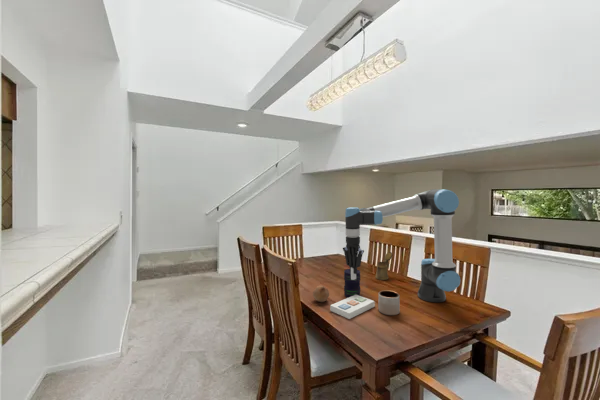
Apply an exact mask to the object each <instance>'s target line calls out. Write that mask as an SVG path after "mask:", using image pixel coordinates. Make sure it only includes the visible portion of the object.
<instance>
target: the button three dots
mask: <svg viewBox="0 0 600 400" xmlns="http://www.w3.org/2000/svg"><path fill="white" fill-rule="evenodd" d="M347 304H349V305H352V306H355V305H357V304H359V302H356V301H353V300H351V301H349V302H347Z"/></svg>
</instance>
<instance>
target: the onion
mask: <svg viewBox="0 0 600 400" xmlns="http://www.w3.org/2000/svg"><path fill="white" fill-rule="evenodd" d="M312 296H313V298H314V300H315V302H318V303H325V302H326V301H327V300H328V298H329V296H330V291H329V289H328V288H327V286H325V285H317V286H315V288H314V289H313V292H312Z"/></svg>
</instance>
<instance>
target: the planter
mask: <svg viewBox="0 0 600 400" xmlns="http://www.w3.org/2000/svg"><path fill="white" fill-rule="evenodd" d="M400 297H401V296H400V293H398V292H397V291H394V290H390V289H389V290H388V289H386V290H385V289H384V290H380V291H379V292H378V297H377V298H378V300H377V301H378V306H377V307H378V312H379V313H381V314H383V315H385V316H397V315H398V314H400V311H401V310H400V309H401V308H400V302H401V301H400Z"/></svg>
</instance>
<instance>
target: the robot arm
mask: <svg viewBox="0 0 600 400" xmlns="http://www.w3.org/2000/svg"><path fill="white" fill-rule="evenodd" d="M459 204H460V199H459V197H458V195H457V194H456V193H455V192H454V191H453V190H449V189H445V188H443V189H442V188H441V189H440V188H439V189H437V188H434V189H433V188H432V189H429V190H425V191H421V192H418V193H415V194H414V195H413V196H411V197H407V198H402V199H398V200H394V201H390V202H386V203H381V204H378V205H374V206H370V207H362V208H359V207H354V206H353V207H347V208H345V215H344V217H345V219H344V220H345V243H346V244H345V246H343V247H342V251H343V252H344V258H345V262H346V266H348V267H349V269H350V273H351V280H354V279H356V273H357V270H358V268H360V267H361V266H362V258H363V255H364V252H365V250H364V249H362V248H361V246H360V244H361V237H360V235H361V231H360V230H361V228H360V227H361V226H367V225H370V226H371V225H372V226H373V225H374V226H375V225H376V226H377V225H382V223H383V220H384V219H383V218H386V217H390V216H393V215H398V214H402V213H403V214H404V213H406V212H410V211H414V210H418V211H423V210H430V216H432V217H433V232H434V234H433V235H434V236H433V237H434V258H424V259H422V260H421V264H420V269H421V270H420V272H421V273H420V278H421V280H420V285H419V288H418V290H417V297H418V298H419V299H421V300H423V301H426V302H429V303H444V302H446V300H447V296H446V292H453V291H456V289H457V288H458V287H459V286H460V285H461V277H460V275H459V273H458V272H457V265H456V263H455V262H453V224H452V223H453V222H452V221H453V219H452V218H453V217H454V216H455V215H456V214H455V213H456V210H457V209H458V207H459Z"/></svg>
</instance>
